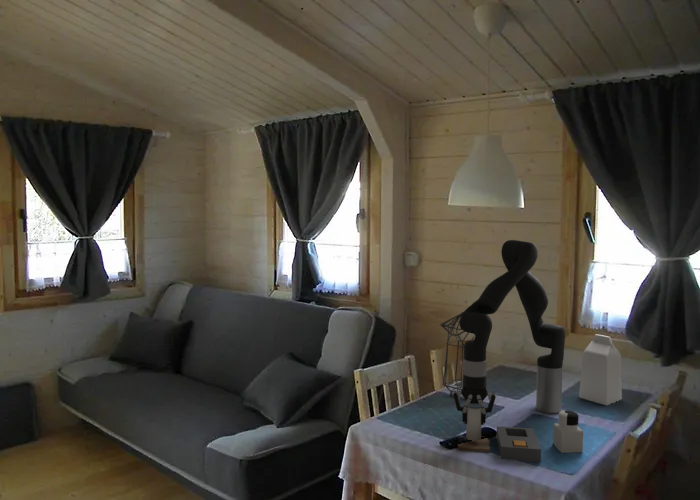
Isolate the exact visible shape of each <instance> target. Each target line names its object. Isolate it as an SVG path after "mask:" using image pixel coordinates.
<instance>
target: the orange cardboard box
mask: <svg viewBox="0 0 700 500" xmlns="http://www.w3.org/2000/svg"><path fill="white" fill-rule="evenodd" d="M513 446H514V447H527V446H526V442H525V441H517V440H513Z"/></svg>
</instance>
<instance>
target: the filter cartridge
mask: <svg viewBox="0 0 700 500" xmlns="http://www.w3.org/2000/svg"><path fill="white" fill-rule="evenodd" d="M467 404H468V403H467ZM481 414H482V411H481V404H478V403H470V404H468V408H467V424H465V425H466V427H465V429H466V430H465V436H466V438H467V439H468V440H472V441H478V440H481V437H482V425H481Z"/></svg>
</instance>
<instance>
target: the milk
mask: <svg viewBox="0 0 700 500" xmlns="http://www.w3.org/2000/svg"><path fill="white" fill-rule="evenodd" d="M579 383H580V384H579V393H578V398H579V399H584V400H586V401H590V402H593V403H596V404H601V405H603V406H609V405H611V403H612V404H614V403H616V401H617V402H620V401H622V400H623V389H622V385H623V383H622V355H621V352H620V351H619V350H618V348H616V346H615V345H614V343H613V341H612V337H611V336H607V335H603V334H597V333H595V334H594V336H593V337H592V340H591V341H590V343H589V344H588V345H587V346H586V348H585V349H584V350H583V353H582V360H581V370H580V382H579ZM621 399H622V400H621ZM619 400H620V401H619Z"/></svg>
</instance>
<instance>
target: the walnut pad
mask: <svg viewBox="0 0 700 500" xmlns="http://www.w3.org/2000/svg"><path fill="white" fill-rule="evenodd" d="M458 436H462V435H459V434H458V435H457V437H458ZM457 450H458V451H461V452H462V451H464V452H476V453H477V452H478V453H479V452H480V453H490V452H491V447H490V441H489V437H488V438H484V439H481V440H478V441H471V442H466V443H461V444H458V443H457Z"/></svg>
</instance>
